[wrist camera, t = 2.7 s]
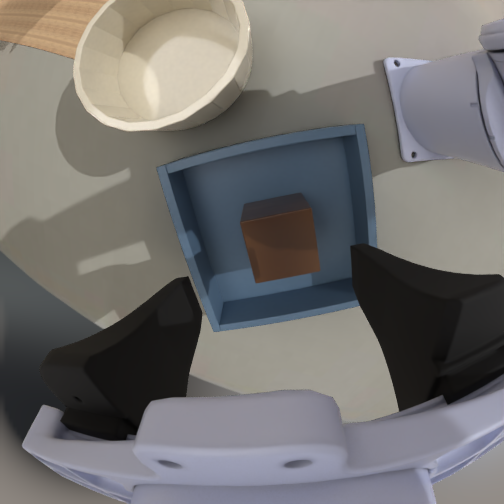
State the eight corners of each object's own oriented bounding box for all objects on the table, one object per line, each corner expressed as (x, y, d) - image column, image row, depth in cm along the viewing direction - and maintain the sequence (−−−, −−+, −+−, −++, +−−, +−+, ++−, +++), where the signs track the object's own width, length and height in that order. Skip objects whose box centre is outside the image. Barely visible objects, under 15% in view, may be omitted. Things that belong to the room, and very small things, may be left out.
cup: (234, -8, 12) (226, -47, 7) (267, 109, 16) (270, 98, 11) (108, 38, 13) (68, 20, 8) (131, 149, 17) (90, 157, 12)
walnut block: (301, 192, 18) (311, 207, 14) (310, 245, 20) (320, 271, 16) (243, 203, 18) (239, 222, 15) (256, 255, 20) (255, 284, 16)
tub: (346, 124, 16) (364, 123, 13) (362, 278, 21) (376, 301, 18) (173, 161, 18) (155, 167, 15) (219, 305, 22) (213, 332, 19)
